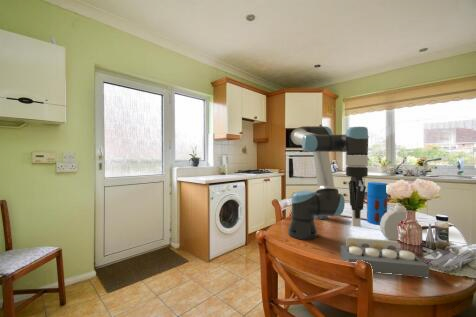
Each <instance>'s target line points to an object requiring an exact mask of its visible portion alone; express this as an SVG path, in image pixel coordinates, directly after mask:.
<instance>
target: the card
mask: <svg viewBox="0 0 476 317" xmlns="http://www.w3.org/2000/svg"><path fill="white" fill-rule="evenodd" d="M345 239H346V240H345V246H355V247H366V248H379V249H391V250H399V241H397V240H388V239H378V238H377V239H375V238H362V237H361V238H360V237H349V236H347V237H346V238H345Z"/></svg>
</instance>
